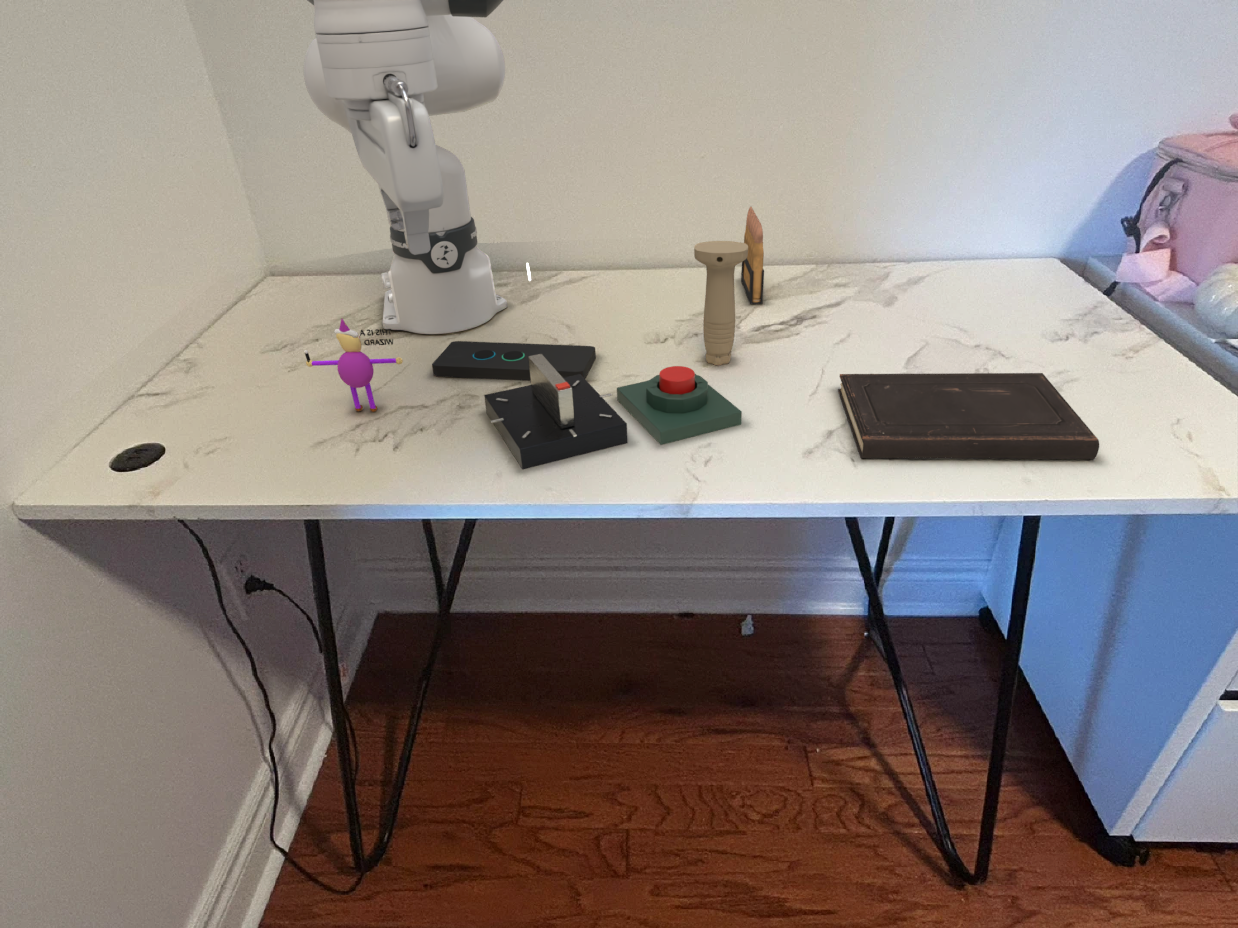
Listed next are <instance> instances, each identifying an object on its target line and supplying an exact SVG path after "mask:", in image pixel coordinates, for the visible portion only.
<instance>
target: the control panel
mask: <svg viewBox="0 0 1238 928" xmlns="http://www.w3.org/2000/svg"><path fill="white" fill-rule="evenodd" d="M563 379H564V380H565V381H566V382H567V383H568V384H569V385H570V387H571V388H572V394H573V407H574V420H575V426H571V427H567V428H563V429H561V428H560V427H559V425H558V424H557V423H556V422H555V420H554V419H553V418H552V416H551V415H550V414H549V413H548V411H547V410H546V409H545V408H544V406H543V405H542V404H541V402H540V401H539V400H538V399H537V397H536V396H535V395H534V393H533V392H532V387H531V384H528V385H524V386H518V387H513V388H511V389H506V390H501V391H495V392H492V393H487V394H483V399H484V404H485V411H486V412H485V413H486V415H487V417H488V418H489V420H490V423H491V424H492V425H493V426H494V427H495V429H496V431H497V432H498V433H499V436H500V437H501V438H502V440H503V441H504V443H505V444H506V446H507V448H508V449H509V451H510V452H511V454H512V455H513V457H514V458H515V460H516V462H517V463H518V465H519V466H520V468H521V470H526V469H531V468H534V467H538V466H542V465H547V464H551V463H555V462H558V461H563V460H567V459H570V458H574V457H578V456H582V455H586V454H590V453H594V452H598V451H602V450H606V449H610V448H615V447H617V446H618V447H619V446H622V445H625V444H628V424H627V422H626V421H625V420H624V419H623V418H622V417H621V415H620V414H619V413H617V412H616V411H615V410H614V408H613V407H612V406H611V405H610V404H609V403H608V402H607V400H606V399H604V398H607V397H608V398H609V397H612V396H613V394H612V393H605V394H601V395H600V393H598V391H597V390H596V389H595V388H594V387H593V386H592V385H591V384H590V383H589V382H588V380H587V379H584V378H583V377H582V375H581V374H578V375H574V376H569V377H565V378H563Z"/></svg>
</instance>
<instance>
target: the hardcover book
mask: <svg viewBox="0 0 1238 928" xmlns="http://www.w3.org/2000/svg"><path fill="white" fill-rule="evenodd" d="M839 379H840V388H838V389H837V392H838V395H839V399H840V401H841V404H842V407H843V410H844V414H845V416H846V419H847V422H848V426H849V428H850V430H851V434H852V437H853V440H854V442H855V445H856V449H857V451H858V455H859V458H860V459H930V460H931V459H934V460H935V459H936V460H937V459H942V460H943V459H945V460H946V459H948V460H950V459H951V460H952V459H954V460H956V459H960V460H962V459H964V460H967V459H968V460H969V459H971V460H973V459H976V460H981V459H983V460H987V459H988V460H996V459H997V460H1094V459H1096V458H1097V456H1098V453H1099V449H1100V440H1099V439H1098V437H1097V436H1096V435H1095V434H1094V432H1093V431H1092V430H1091V429H1090V428H1089V427H1088V425H1086V423H1085V422H1084V421H1083V419H1082V418H1081V417H1080V416H1079V415H1078V414H1077V412H1076V411H1075V410H1074V409H1073V408H1072V406H1071V405H1070V404H1069V403H1068V402H1067V400H1066V399H1065V398H1064V397H1063V396H1062V394H1061V393H1060V392H1059V391H1058V390H1057V388H1056V387H1055V386H1054V384H1052V382H1051V381H1050V380H1049V379H1048V377H1046V375H1045V374H1044V373H1043V372H988V373H987V372H984V373H983V372H982V373H981V372H980V373H977V372H975V373H974V372H973V373H970V372H969V373H968V372H967V373H966V372H965V373H958V372H957V373H953V372H951V373H839Z"/></svg>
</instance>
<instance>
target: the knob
mask: <svg viewBox="0 0 1238 928" xmlns="http://www.w3.org/2000/svg"><path fill="white" fill-rule="evenodd" d="M528 358H529V368H530V377H531V381H530V385H531V387H532V392H533V393H534V395H535V396H536V397H537V399H538V400H539V401H540V402H541V404H542V405H543V406H544V408H545V409H546V410H547V411H548V413H549V414H550V415H551V416H552V418H553V419H554V420H555V422H556V423H557V424H558V425H559V427H560V428H561V429H563V428H567V427H571V426H575V420H574V407H573V394H572V388H571V387H570V385H569V384H568V383H567V382H566V381H565V380H564V379H563V378H562V376H561V375H560V374H559V373H558V372H557V371H556V370H555V369H554V367H553V366H552V365H551V364H550V363H549V362H548V361H547V359H546V358H545V357H544V356H543V355H542V354H537V355H533V356H528Z"/></svg>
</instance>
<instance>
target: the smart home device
mask: <svg viewBox="0 0 1238 928" xmlns="http://www.w3.org/2000/svg"><path fill="white" fill-rule="evenodd" d="M537 354H542V355H543V356H544V357H545V358H546V359H547V361H548V362H549V363H550V364H551V365H552V366H553V367H554V369H555V370H556V371H557V372H558V373H559V374H560V375H561V376H562V378H565V377H569V376H574V375H578V374H581V375H582V377H583V378H584V379H585V380H587V377H588V376H589V373H590V371H591V369H592V367H593V365H594V363H595V361H596V359H597V355H596V354H597V353H596V347H595V346H593V345H577V344H576V345H574V344H551V343H550V344H547V343H544V344H543V343H526V342H525V343H523V342H496V341H469V340H468V341H467V340H454V341H451V342H450V343H449V344H448V345H447V346H446V347H445V349H444V350H443V351H442V352H441V353H440V354H439V355H438V357H436V359H435V360H434V361H433V362H432V363H431V367H432V372H433V376H434V377H438V378H440V377H441V378H459V379H480V380H481V379H482V380H499V381H500V380H502V381H503V380H504V381H506V380H507V381H522V382H523V381H525V382H531V377H530V368H529V358H528V356H533V355H537Z"/></svg>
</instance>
